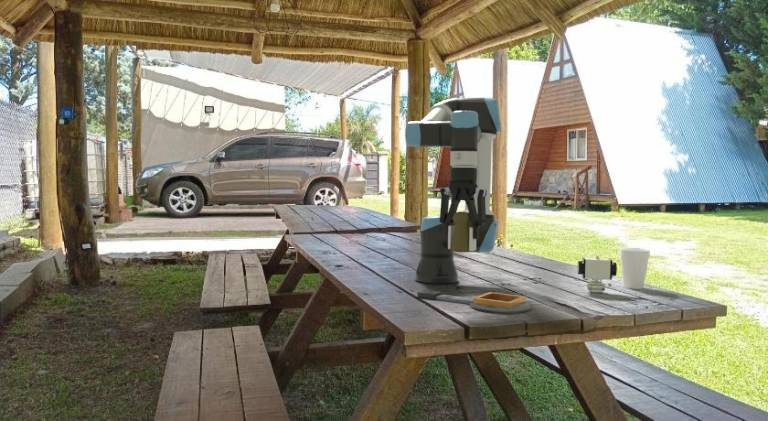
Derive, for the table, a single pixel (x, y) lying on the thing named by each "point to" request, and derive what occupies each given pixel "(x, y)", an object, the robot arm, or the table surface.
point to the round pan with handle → (485, 301)
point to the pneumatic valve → (596, 272)
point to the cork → (461, 232)
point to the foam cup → (634, 266)
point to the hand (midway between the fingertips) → (461, 249)
